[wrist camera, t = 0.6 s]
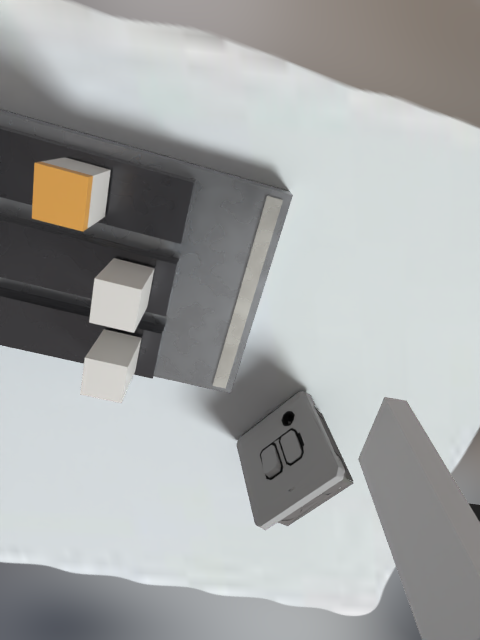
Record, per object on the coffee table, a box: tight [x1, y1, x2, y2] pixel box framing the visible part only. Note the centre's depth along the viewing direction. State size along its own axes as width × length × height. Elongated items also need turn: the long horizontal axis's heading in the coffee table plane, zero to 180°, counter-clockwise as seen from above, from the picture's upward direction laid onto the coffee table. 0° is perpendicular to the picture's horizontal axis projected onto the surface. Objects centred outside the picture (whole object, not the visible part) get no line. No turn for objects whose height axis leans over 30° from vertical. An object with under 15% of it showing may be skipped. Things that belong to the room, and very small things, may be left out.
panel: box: [0, 109, 293, 393], centre depth 32 cm, size 28×18×4 cm, turn 75°
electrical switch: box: [237, 391, 353, 530], centre depth 38 cm, size 9×5×9 cm, turn 135°
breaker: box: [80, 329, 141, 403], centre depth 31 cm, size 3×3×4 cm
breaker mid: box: [89, 258, 155, 333], centre depth 29 cm, size 3×3×4 cm
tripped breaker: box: [32, 157, 111, 231], centre depth 26 cm, size 3×3×4 cm
